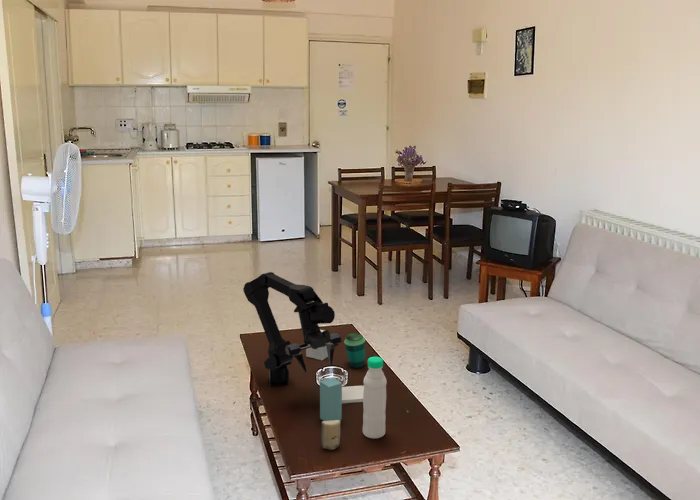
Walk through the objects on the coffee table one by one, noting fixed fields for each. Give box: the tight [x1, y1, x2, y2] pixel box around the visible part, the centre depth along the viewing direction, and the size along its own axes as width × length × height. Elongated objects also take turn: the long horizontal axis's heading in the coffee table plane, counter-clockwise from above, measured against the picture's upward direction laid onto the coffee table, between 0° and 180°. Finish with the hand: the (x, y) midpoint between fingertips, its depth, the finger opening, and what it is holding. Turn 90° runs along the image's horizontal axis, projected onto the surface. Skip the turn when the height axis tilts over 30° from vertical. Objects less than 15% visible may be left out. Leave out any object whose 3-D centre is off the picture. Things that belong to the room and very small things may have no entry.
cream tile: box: [342, 384, 364, 404], centre depth 224 cm, size 10×10×1 cm
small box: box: [305, 329, 328, 361], centre depth 256 cm, size 8×6×10 cm
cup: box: [343, 333, 366, 369], centre depth 247 cm, size 8×8×12 cm
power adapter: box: [321, 420, 342, 450], centre depth 191 cm, size 6×5×8 cm
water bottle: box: [362, 356, 387, 440], centre depth 197 cm, size 7×7×25 cm
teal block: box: [319, 377, 343, 422], centre depth 206 cm, size 5×5×13 cm
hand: (318, 368), depth 218 cm, fingers open, 9 cm apart
